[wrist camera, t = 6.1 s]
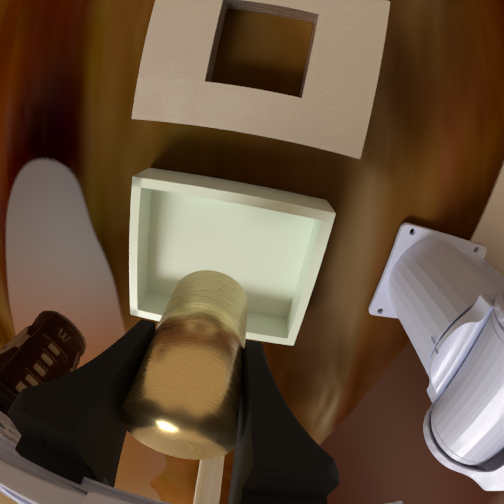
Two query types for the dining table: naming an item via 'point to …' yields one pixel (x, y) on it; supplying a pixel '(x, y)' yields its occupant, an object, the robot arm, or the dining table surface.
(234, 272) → the tray
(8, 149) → the dining table surface
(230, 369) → the pin
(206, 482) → the candle
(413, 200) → the dining table surface
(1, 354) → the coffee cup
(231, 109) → the block
